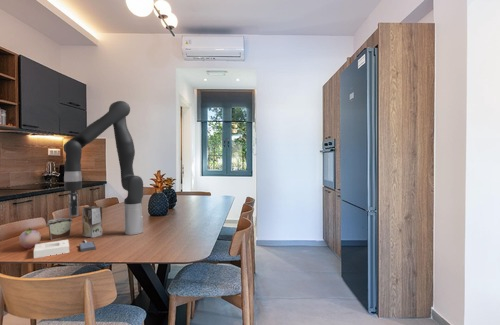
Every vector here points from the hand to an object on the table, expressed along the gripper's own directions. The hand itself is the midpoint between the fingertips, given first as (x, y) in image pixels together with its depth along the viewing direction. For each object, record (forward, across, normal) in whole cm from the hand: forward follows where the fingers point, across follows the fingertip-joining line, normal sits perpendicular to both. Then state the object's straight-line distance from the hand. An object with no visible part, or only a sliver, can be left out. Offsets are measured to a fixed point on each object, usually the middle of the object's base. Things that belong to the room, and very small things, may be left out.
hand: (73, 214), depth 143 cm
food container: (+15, +20, +7) cm, 26 cm away
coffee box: (+15, +13, -9) cm, 22 cm away
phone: (+15, -7, -5) cm, 17 cm away
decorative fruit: (+15, +4, +18) cm, 24 cm away
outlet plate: (+15, -8, +9) cm, 19 cm away
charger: (+1, 0, 0) cm, 1 cm away
